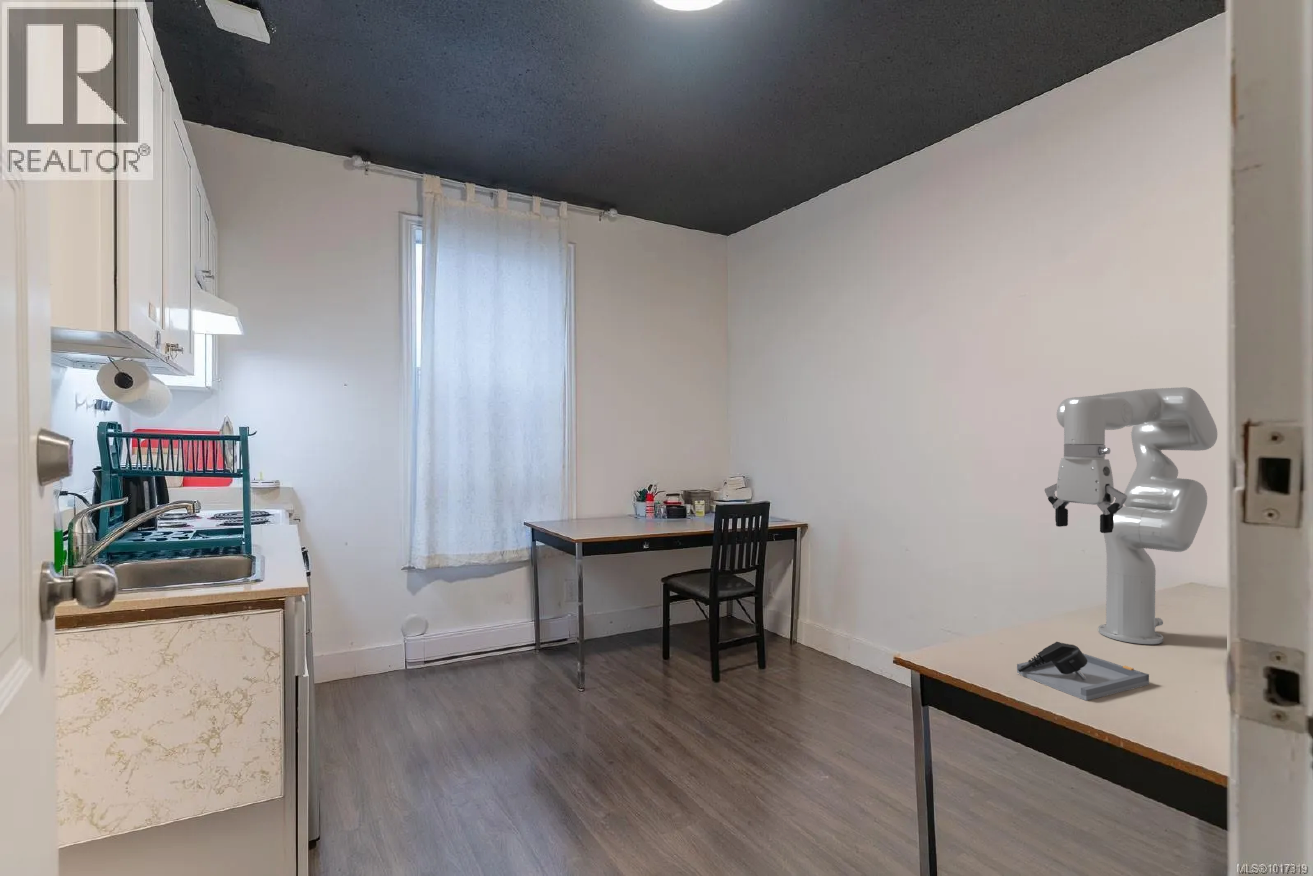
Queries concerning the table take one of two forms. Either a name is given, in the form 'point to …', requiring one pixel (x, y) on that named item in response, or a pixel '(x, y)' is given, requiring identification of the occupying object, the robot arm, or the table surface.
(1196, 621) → the table surface
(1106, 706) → the table surface
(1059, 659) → the power plug
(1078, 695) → the dock
